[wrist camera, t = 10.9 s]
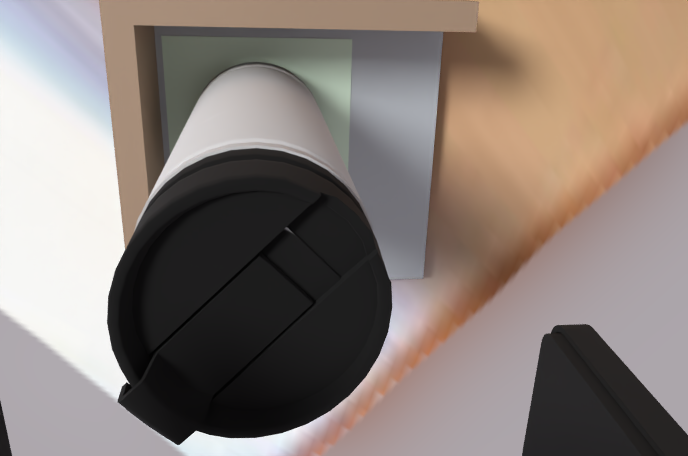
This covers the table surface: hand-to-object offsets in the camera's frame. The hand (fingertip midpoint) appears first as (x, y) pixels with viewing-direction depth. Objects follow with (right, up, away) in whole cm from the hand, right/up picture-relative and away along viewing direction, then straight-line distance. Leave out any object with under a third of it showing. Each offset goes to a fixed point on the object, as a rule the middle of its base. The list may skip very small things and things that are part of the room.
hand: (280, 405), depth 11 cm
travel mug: (-3, +8, +21) cm, 23 cm away
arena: (-2, +7, +22) cm, 23 cm away
